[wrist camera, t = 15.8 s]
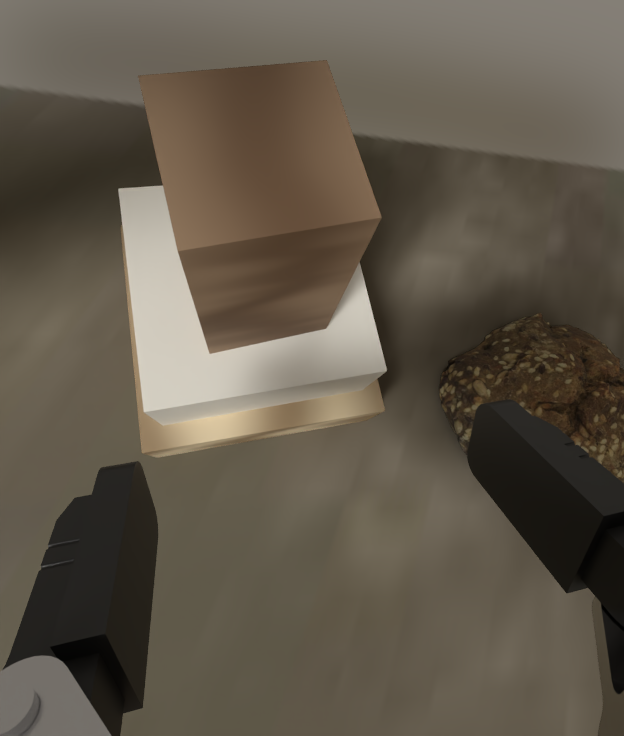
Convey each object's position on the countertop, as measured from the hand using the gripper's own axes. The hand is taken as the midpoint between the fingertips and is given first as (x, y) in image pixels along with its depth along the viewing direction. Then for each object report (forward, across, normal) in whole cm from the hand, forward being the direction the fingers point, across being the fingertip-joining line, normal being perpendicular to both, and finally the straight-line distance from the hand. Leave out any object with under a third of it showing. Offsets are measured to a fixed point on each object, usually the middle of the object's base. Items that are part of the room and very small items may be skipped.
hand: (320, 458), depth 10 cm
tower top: (+13, 0, +2) cm, 14 cm away
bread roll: (+11, -17, +10) cm, 23 cm away
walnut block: (+10, 0, -1) cm, 10 cm away
